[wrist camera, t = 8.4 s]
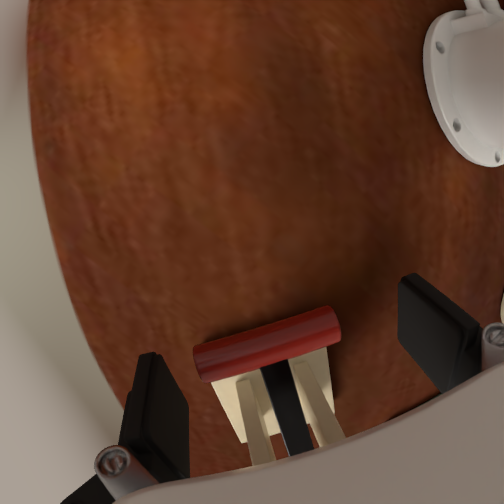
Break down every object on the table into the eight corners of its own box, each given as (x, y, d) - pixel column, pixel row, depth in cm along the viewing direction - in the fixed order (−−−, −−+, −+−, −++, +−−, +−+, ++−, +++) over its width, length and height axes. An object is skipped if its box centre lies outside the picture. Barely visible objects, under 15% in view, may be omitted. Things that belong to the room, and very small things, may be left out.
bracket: (198, 346, 20) (217, 534, 8) (315, 310, 20) (420, 465, 9) (239, 433, 24) (270, 567, 12) (330, 404, 24) (393, 526, 12)
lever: (195, 338, 13) (188, 355, 10) (321, 300, 13) (340, 308, 11) (272, 523, 13) (277, 551, 10) (364, 493, 13) (379, 517, 11)
